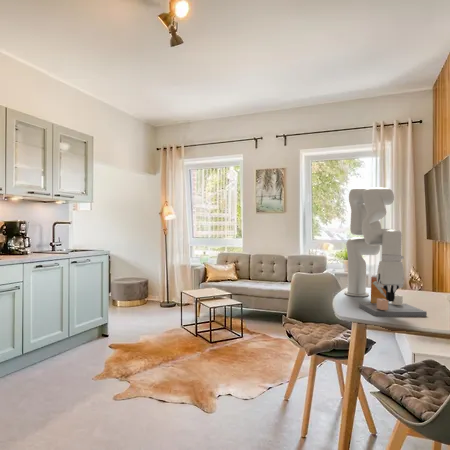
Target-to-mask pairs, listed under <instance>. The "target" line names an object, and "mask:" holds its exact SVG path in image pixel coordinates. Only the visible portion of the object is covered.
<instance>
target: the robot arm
mask: <svg viewBox="0 0 450 450" xmlns="http://www.w3.org/2000/svg"><path fill="white" fill-rule="evenodd" d="M394 201H395V193H394V192H393V190H392V189H391V188H390V187H354V188H351V189H350V191H349V193H348V202H349V205H350V226H349V228H350V233H351V234H352V235H354V236H363V237H350V238H349V239H348V240H347V242H346V254H347V290H344V295H346V296H352V297H360V298H361V297H369V296H370V295H369V294H370V292H367V291H366V290H367V262H366V260H365V259H364V258H363V256H376V255H378V254H379V252H380V251H381V260H380V261H379V262H378V266H377V272H376V276H377V282H378V287H381V288H384V289H385V291H386V299H387V300H388V301H389V303H391V301H392V302H394V299H395V294H396V292H397V290H398V289H401V288H404V283H405V270H404V265H403V262H402V260H404V259H405V256H404V255H402V238H403V237H402V236H403V235H402V231H400V230H398V229H394V228H393V229H392V228H382V224H381V221H380V220H381V219H383V218H385V216H386V215H387V208H386V206H389V205H391V204H393V202H394ZM380 249H381V250H380Z"/></svg>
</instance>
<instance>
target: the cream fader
mask: <svg viewBox="0 0 450 450" xmlns="http://www.w3.org/2000/svg"><path fill="white" fill-rule="evenodd" d="M390 303H393V304H395V305H402V304H403V295H400V294H396V293H395V299H394V302H392V301H391V302H390Z"/></svg>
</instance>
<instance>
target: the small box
mask: <svg viewBox="0 0 450 450" xmlns="http://www.w3.org/2000/svg"><path fill="white" fill-rule="evenodd" d="M370 279H371V281H370V303H377V299H380V298H381V299H386V291H385V289H384V288H381V287H378V282H377V275H372V276H370ZM386 300H387V299H386ZM388 303H390V301H388Z"/></svg>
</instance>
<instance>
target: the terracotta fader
mask: <svg viewBox="0 0 450 450" xmlns="http://www.w3.org/2000/svg"><path fill="white" fill-rule="evenodd" d="M377 308H378V309H380V310H388V300H386V299H381V298H380V299H377Z"/></svg>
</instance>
